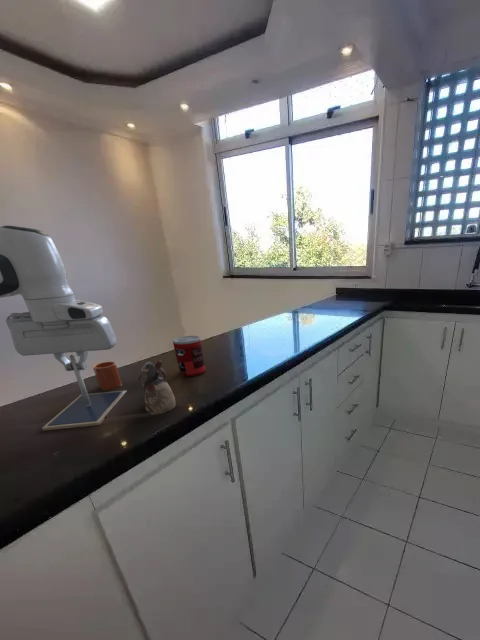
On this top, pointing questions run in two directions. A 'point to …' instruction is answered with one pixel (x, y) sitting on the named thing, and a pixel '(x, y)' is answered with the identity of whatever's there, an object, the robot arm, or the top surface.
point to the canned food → (189, 355)
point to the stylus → (80, 381)
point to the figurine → (156, 389)
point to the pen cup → (107, 375)
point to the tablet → (85, 411)
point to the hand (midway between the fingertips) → (77, 369)
